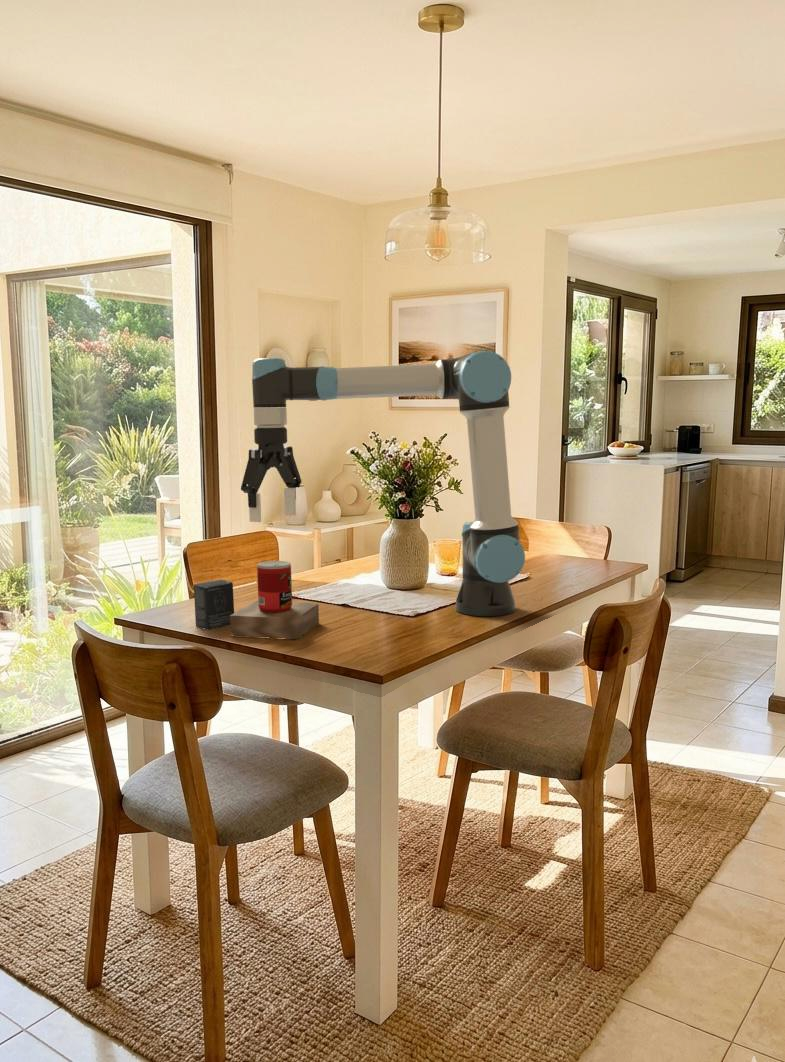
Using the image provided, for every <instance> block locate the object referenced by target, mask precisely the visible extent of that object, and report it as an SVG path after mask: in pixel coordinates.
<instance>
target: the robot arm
mask: <svg viewBox="0 0 785 1062" xmlns="http://www.w3.org/2000/svg"><path fill="white" fill-rule="evenodd" d="M251 382H252V383H251V384H252V403H253V406H252V407H253V425H254V426H256V427H255V428H254V429H253V432H254V433H253V434H254V435H253V437H254V438H253V439H254V440H253V441H254V444H256V445H257V446H258V448H250V449H248V460H247V463H246V467H245V469H244V475H243V479H242V482H241V486H240V490H241V491H242V492H243V493H244V494H247V503H248V504H247V505H248V506H247V507H248V513H249V522H250V523H262V507H261V505H262V503H261V500H262V499H261V493H260V492H259V490H260V488H261V485H262V483H263V480H264V478H265V476H266V475H267V472H268V470H271V468H275V469H276V471H277V473H278V474H279V475H280V478H281V479H282V481H283V482H284V484H285V486H286V487H284V488H283V491H284V492H283V496H284V500H283V501H284V516H296V515H297V505H296V500H297V488H300V487H301V484H302V481H303V480H302V479H301V476H300V473H299V468H298V466H297V462H296V460H295V457H294V450H293V446H291V445H289V446H285V445H284V444H287V443H288V429H287V427H285V426H286V425H288V415H287V413H288V412H287V401H310V402H313V401H314V402H315V401H323V402H324V401H329V400H330V401H331V400H342V399H343V400H345V399H346V400H347V399H348V400H349V399H369V398H372V399H373V398H392V397H393V398H394V397H396V398H397V397H418V396H419V397H421V396H424V397H425V396H426V397H427V396H437V398H439V399H440V400H446V399H447V400H448V399H449V400H458V404H459V405H458V406H459V413H460V414H461V415H462V416H464V417H465V419H466V423H467V434H468V446H469V447H468V448H469V458H470V459H469V461H470V472H471V483H472V495H473V496H472V497H473V507H474V509H473V510H474V518H475V519H474V520H473V521H467V522H464V524H463V525H462V531H461V537H462V580H461V585H460V588H459V591H458V594H457V596H456V599H455V611H457V612H458V613H459V614H463V615H467V616H474V617H477V616H478V617H496V616H497V617H498V616H499V617H500V616H506V615H511V614H513V613H514V612H515V611H516V603H515V601H516V600H515V598H514V595H513V592H512V588H511V585H510V583H509V581H512V580H513V579H515V578H516V577H517V576H519V574H520V573H521V572H522V570H523V568H524V565H525V562H526V552H525V550H524V547H523V544H522V543H521V540H520V528H519V522H518V521H517V520H516V519H515V518H514V517H513V516H512V510H511V508H512V507H511V496H510V481H509V480H510V479H509V469H508V468H509V467H508V455H507V443H506V442H507V441H506V431H505V430H506V429H505V417H504V415H505V414H506V412H507V411H508V410H510V397H509V389H510V387H511V384H512V372H511V367H510V365H509V363H508V362H507V361H506V359H505V358H504V357H502V356H501V355H500V354H498V353H497V352H495V351H490V350H482V349H481V350H477V351H473V352H471V353H469V354H465V355H461V356H458V357H455V358H454V357H453V358H447V359H443V358H442V359H438V360H437V361H436V363H430V364H429V363H428V364H425V363H423V364H406V365H405V364H403V365H402V364H401V365H379V366H377V365H376V366H356V367H353V366H352V367H334V366H324V365H323V366H305V367H304V366H301V367H299V366H297V367H295V366H294V367H292V366H291V367H289V366H286V362H285V360H284V359H283V358H281V357H280V358H277V357H276V358H272V357H270V358H269V357H267V358H264V357H263V358H256V359H254V361H253V362H252V378H251Z"/></svg>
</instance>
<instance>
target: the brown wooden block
mask: <svg viewBox="0 0 785 1062" xmlns="http://www.w3.org/2000/svg"><path fill="white" fill-rule="evenodd" d="M319 609H320V608H319V603H315V602H311V603H310V602H295V601H294V602H293V601H292V607H291V609H290V610H289V611H285V612H278V613H269V612H263V611H261V610H260V609H259V604H258V600H256V601H254V602H252V603H250V604H248V605H246V606H245V607H242V608H241V609H239V610H237V611H234V614H232V615H230V625H229V626H230V636H231V635H233V636H249V637H269V638H285V639H297V638H299V637H300V636H301V637H303V636H304V635H305V634H307V633H309V632H310V631H311V630H312V629H314V628H315V627H316V626H318V625H319V624H320V615H319V614H320V613H319V612H320V610H319ZM309 630H310V631H309ZM306 632H307V633H306ZM303 634H304V635H303ZM302 635H303V636H302ZM301 637H300V638H301ZM300 638H299V639H300ZM297 640H298V639H297Z"/></svg>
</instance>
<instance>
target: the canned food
mask: <svg viewBox="0 0 785 1062" xmlns="http://www.w3.org/2000/svg"><path fill="white" fill-rule="evenodd" d="M256 569H257V571H256V572H257V573H256V575H257V578H256V579H257V599H258V600H257V601H258V604H259V609H260V610H261V611H263V612H269V613H278V612H285V611H289V610H290V609H291V607H292V602H293V596H292V595H293V593H292V592H293V589H292V587H293V586H292V565H291V562H289V561H284V560H268V561H261V562H258V563H257V566H256Z"/></svg>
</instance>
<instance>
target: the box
mask: <svg viewBox="0 0 785 1062" xmlns="http://www.w3.org/2000/svg"><path fill="white" fill-rule="evenodd" d="M193 594H194V595H193V596H194V597H193V598H194V616H195V617H194V618H195V627H197V626H198V628H200V627H201V628H200V629H203V628H205V629H204V630H206V629H210V630H213V629H212V628H214V629H218V628H217V627H219V628H222V626H223V627H228V626H230V615H232V614H234V613H235V603H234V585H233V581H229V580H224V579H217V580H212V581H206V582H201V583H199V582H198V583H194V584H193Z"/></svg>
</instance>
